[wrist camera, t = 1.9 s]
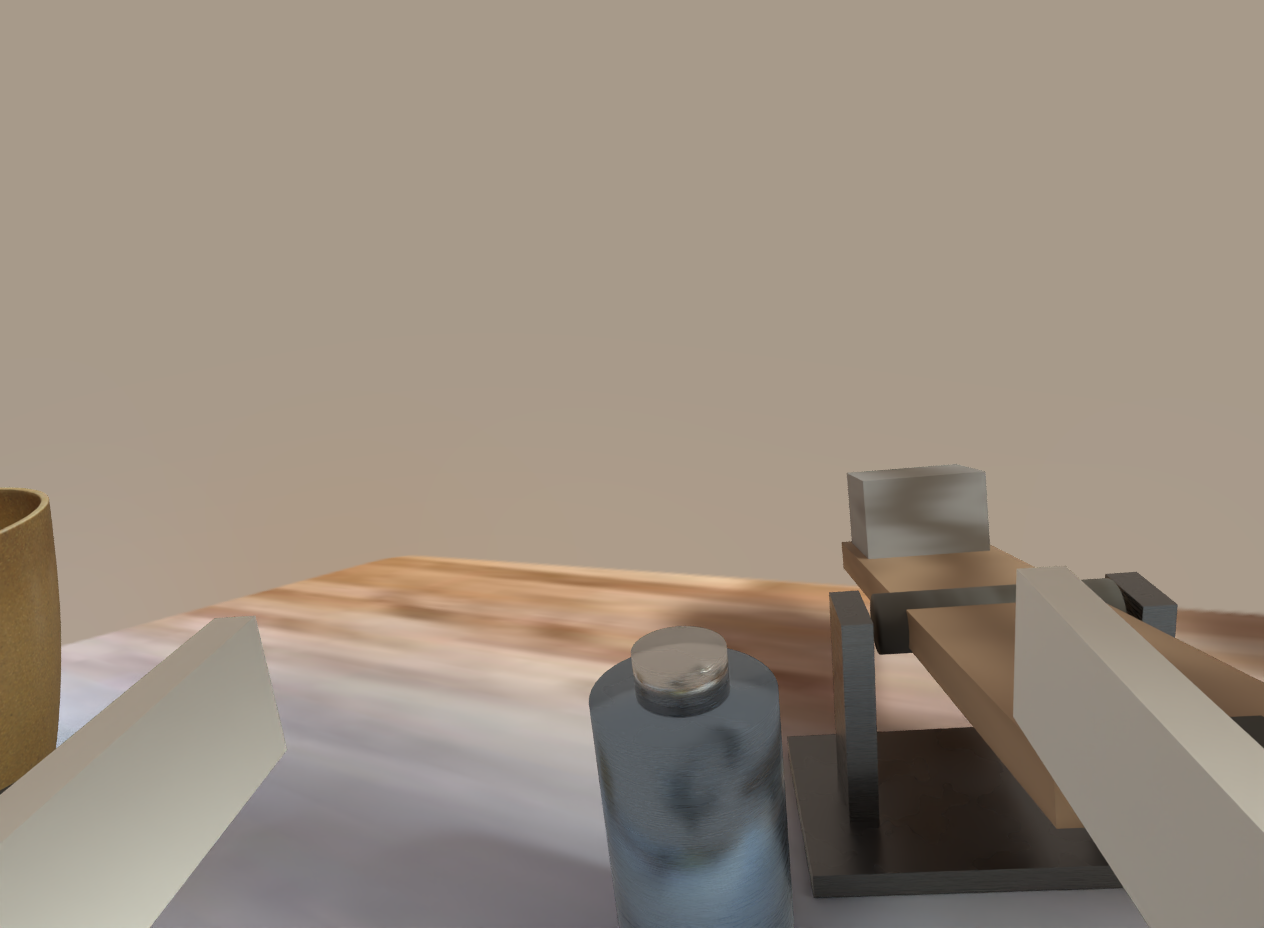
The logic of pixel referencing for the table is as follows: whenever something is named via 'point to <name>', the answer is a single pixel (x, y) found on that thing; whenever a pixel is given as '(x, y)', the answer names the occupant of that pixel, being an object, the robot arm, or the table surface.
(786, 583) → the table surface
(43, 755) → the plant pot
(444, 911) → the table surface
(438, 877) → the table surface
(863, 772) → the stand
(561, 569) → the table surface
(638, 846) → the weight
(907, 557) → the beam
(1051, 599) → the robot arm
